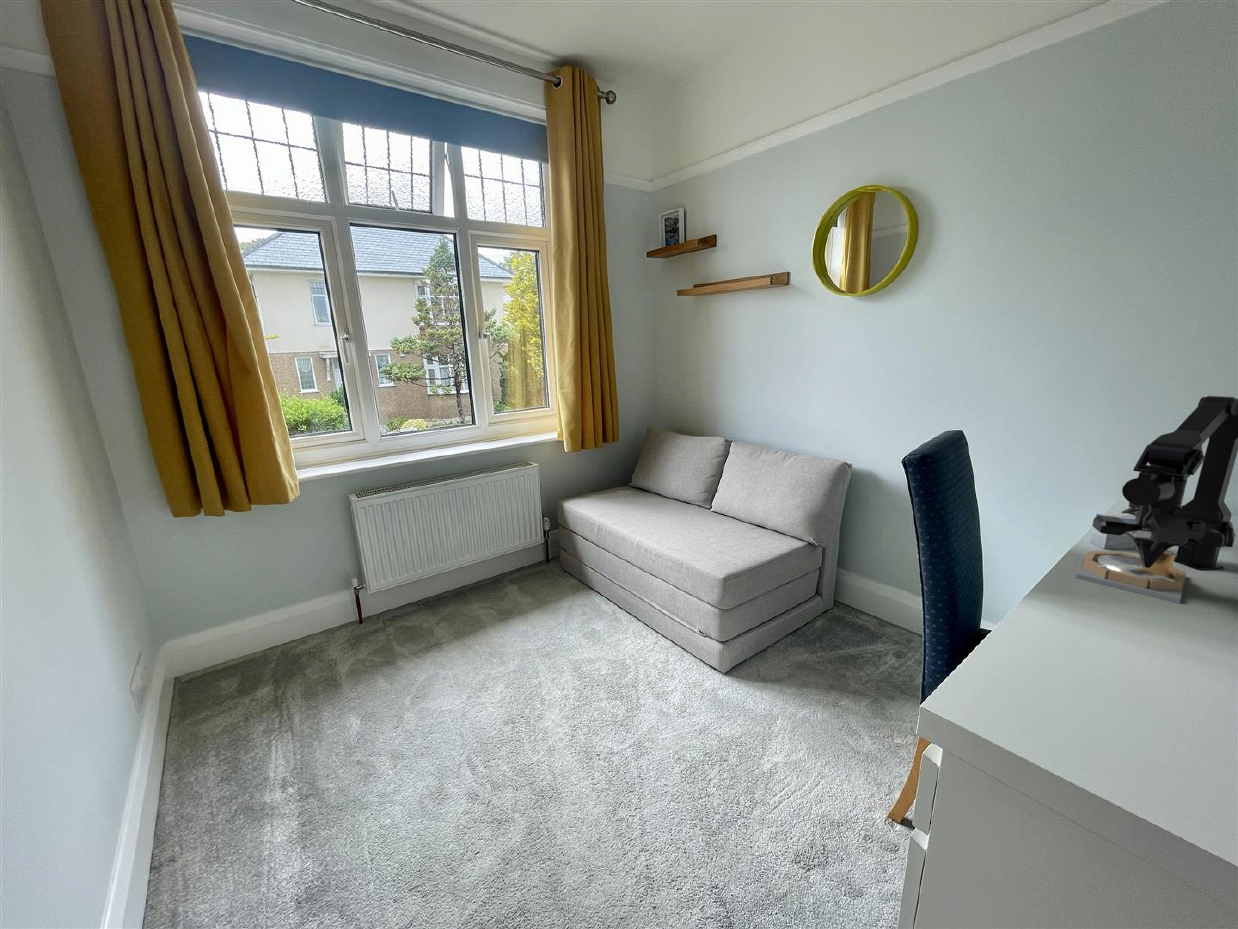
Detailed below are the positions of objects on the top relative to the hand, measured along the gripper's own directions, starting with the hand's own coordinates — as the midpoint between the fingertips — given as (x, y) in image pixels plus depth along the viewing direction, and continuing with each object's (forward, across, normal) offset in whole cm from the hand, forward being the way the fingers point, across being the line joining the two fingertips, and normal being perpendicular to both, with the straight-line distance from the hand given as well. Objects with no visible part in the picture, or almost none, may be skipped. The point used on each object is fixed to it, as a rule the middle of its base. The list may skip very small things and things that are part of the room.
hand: (1146, 567), depth 107 cm
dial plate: (+5, 0, +5) cm, 7 cm away
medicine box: (+4, +3, +27) cm, 27 cm away
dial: (+3, 0, +5) cm, 6 cm away
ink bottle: (+4, +11, +38) cm, 39 cm away
